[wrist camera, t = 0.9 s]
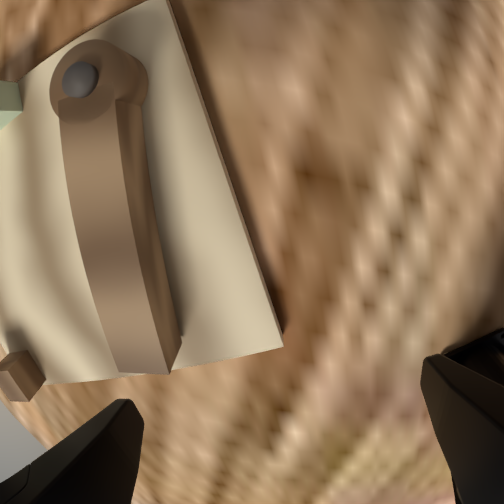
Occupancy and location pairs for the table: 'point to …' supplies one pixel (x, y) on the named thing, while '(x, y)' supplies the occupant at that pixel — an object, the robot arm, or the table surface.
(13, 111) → the socket blocks
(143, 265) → the hinged leg
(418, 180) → the table surface
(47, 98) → the board
